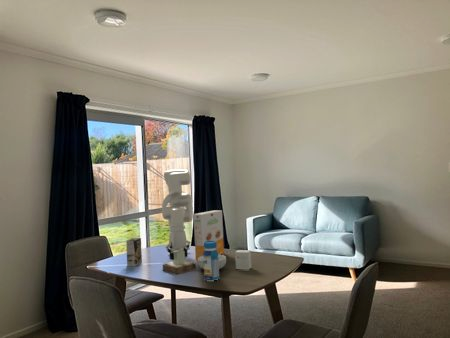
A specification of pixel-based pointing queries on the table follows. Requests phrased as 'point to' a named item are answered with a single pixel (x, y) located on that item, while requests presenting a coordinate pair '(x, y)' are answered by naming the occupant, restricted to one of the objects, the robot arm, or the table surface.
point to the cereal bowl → (221, 261)
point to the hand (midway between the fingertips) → (178, 258)
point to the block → (179, 257)
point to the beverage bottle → (210, 261)
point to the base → (179, 267)
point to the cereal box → (208, 231)
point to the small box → (243, 259)
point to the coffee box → (134, 252)
